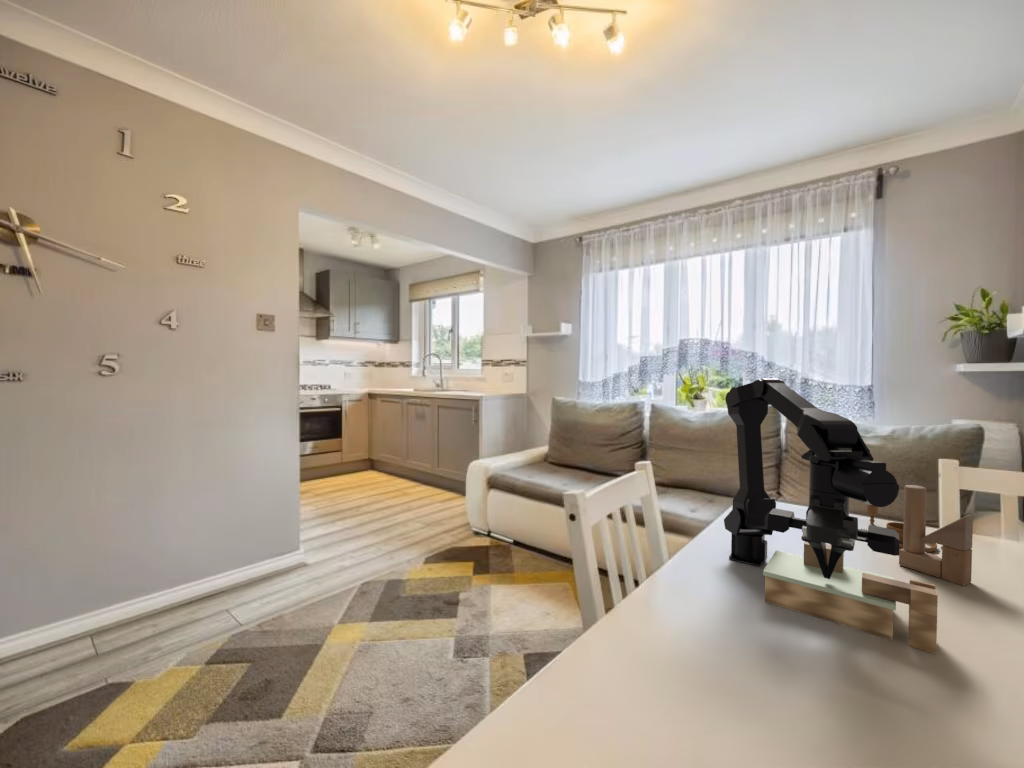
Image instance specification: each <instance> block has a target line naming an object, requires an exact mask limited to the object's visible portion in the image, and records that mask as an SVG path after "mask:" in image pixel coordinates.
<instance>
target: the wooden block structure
mask: <svg viewBox="0 0 1024 768" xmlns="http://www.w3.org/2000/svg"><path fill="white" fill-rule="evenodd" d="M927 491H928V490H927V488H926V487H925V486H921V485H916V484H905V485H904V494H903V495H904V497H903V523H904V530H903V549H899V556H898V565H899V566H901V567H905V568H907V569H911V570H914V571H917V572H920V573H923V574H926V575H930V576H933V577H935V578H938V579H941V580H944V581H946V582H950V583H952V584H956V585H961V586H966V585H968V584H971V583H972V571H973V569H972V568H973V567H972V566H973V565H972V564H973V561H972V560H973V549H972V548H973V533H974V532H973V531H974V529H973V528H974V514H971V513H970V514H968V515H965V516H963V517H960V518H959V519H956V520H955V521H952V522H950V523H949V524H947V525H945V526H941V528H938V529H937V530H935V531H933V532H931V533H928V534H926V528H927ZM925 541H929V542H933V543H936V544H937V545H941V546H942V549H941V557H940V556H938V555H937V554H933V553H931V552H929V553H926V552H925V548H926V544H925Z"/></svg>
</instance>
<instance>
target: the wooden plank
mask: <svg viewBox="0 0 1024 768" xmlns="http://www.w3.org/2000/svg"><path fill="white" fill-rule="evenodd" d="M911 588H914V589H918V590H922V591H926V592H931V593H935V594H937V589H936V588H935V589H931V588H927V587H922V586H918V585H914V584H910V582H909V583H908V582H905V581H900V580H896V579H895V580H892V579H888V578H884V577H879V576H875V575H871V574H867V573H862V593H866V594H870V595H873V596H877V597H881V598H885V599H889V600H893V601H896V603H897V602H898V603H901V604H905V605H908V606H909V605H910V599H911ZM937 595H938V594H937Z"/></svg>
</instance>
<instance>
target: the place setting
mask: <svg viewBox="0 0 1024 768" xmlns="http://www.w3.org/2000/svg"><path fill="white" fill-rule="evenodd" d="M866 512H867V514H868V515H869V516H870V519H869V525H872V526H875V521H876V520H875V517H876V516H877V515H878V514H879V507H876V506H873V505H870V504H866ZM885 528H889V529H894V530H895V531H896V532H897V533H898V534H899V550H900V549H903V530H904V522H898V521H897V522H895V521H892V522H891V521H890V522H887V523H886V527H885ZM860 530H866V531H868V528H863V527H862V528H860ZM926 545H927V546H929V547H925V552H929V553H933V551H934V552H935V551H936V550H937V549H938V544H937V543H933V542H929V541H925V546H926ZM942 546H943V545H941V546H940V549H941V550H942Z"/></svg>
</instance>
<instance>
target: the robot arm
mask: <svg viewBox="0 0 1024 768" xmlns="http://www.w3.org/2000/svg"><path fill="white" fill-rule="evenodd" d="M725 404H726V408H727V414H728V416H729V417H730V419H731V420H732V421H733V423H734V424H735V427H736V440H737V441H736V443H737V459H738V461H737V462H738V477H739V478H738V479H739V489H737V492H736V494H735V495H734V497H733V499H732V507H731V508H732V509H731V510H730V512H729V513H728V514H727V515H726V516H725V518H724V519H723V523H724V524H723V525H724V528H725V530H726V531H728V532H729V533H731V539H730V540H731V544H730V545H731V546H730V547H731V549H730V550H731V552H730V555H728V558H729V559H730V560H732V561H736V562H737V561H738V562H741V563H745V564H749V565H753V566H755V567H761V566H762V565H763V563H765V562H766V561H767V559H768V541H767V540H766V539H765V538H766V536H773V532H778V533H782V534H783V533H786V532H788V531H789V530H790V528H793V529H798V530H801V533H802V535H801V541H803V542H804V543H805V542H808V543H809V544H810V546H811V547H812V548H813V550H814V552H815V554H816V557H817V559H818V562H819V565H820V568H821V570H822V573H823V576H824V578H827V579H830V577H831V575H832V573H833V570H834V568H835V566H836V564H837V561H838V560H839V558H840V557H841V555H842V554H843V553H845V552H847V551H849V552H853V551H854V549H855V545H856V543H855V542H856V541H858V542H864V543H867V547H869V549H870V550H872V552H874V553H875V552H876V553H880V554H885V555H890V556H895V557H896V556H898V557H899V550H900V549H899V534H898V533H897V532H896V531H895V530H894V529H889V528H886V527H884V526H883V527H881V526H877V525H870V524H868V526H867V527H868V528H867V531H866V529H865V530H864V529H862V530H861V528H860V529H859V517H855V516H851V515H850V499H853V500H856V501H858V502H861V503H865V504H866V505H873V506H876V507H878V508H884V507H888V506H890V505H891V504H893V503H894V502H895V501H896V499H897V497H898V494H899V492H900V485H899V484H898V481H897V479H896V477H895V476H894V474H893V473H891V472H890V471H888V470H887V463H886V462H884V461H880V460H879V461H877V460H875V461H874V457H873V455H872V454H871V450H870V448H869V447H868V446H867V445H866V443H865V441H864V439H863V437H862V435H861V434H860V432H859V430H858V427H857V425H856V423H855V422H854V421H852V420H851V419H849V418H847V417H844V416H841V415H839V414H837V413H833V412H831V411H827V410H826V411H825V410H822V409H820V408H818V407H817V406H815V405H814V404H812V403H811V402H810V401H809V400H807V399H806V398H805V397H803V396H802V395H800V394H799V393H798V392H796V391H795V390H793V389H792V388H790V386H787V385H786V383H785V381H784V380H783V379H780V378H763V377H762V378H759V379H756V380H754V381H752V382H749V383H746V384H742V385H739V386H734V387H731V388H730V389H729V391H728V392H727V393H726V395H725ZM769 406H771V407H773V408H774V409H775V410H776V411H777V412H778V413H780V415H781V414H782V416H784V417H785V418H786V419H787V420H789V421H790V422H791V423H792V424H793V425H794V426H795V427H796V434H797V436H798V438H799V439H800V440H801V441H802V443H803V444H804V445H805V446H806V447H807V448H808V451H806V452H805V453H803V454H801V459H802V460H805V461H809V476H808V477H809V478H808V479H809V481H808V482H809V483H808V484H809V485H808V486H809V487H808V507H807V509H806V512H805V519H804V518H799V517H795V512H794V511H792V510H791V511H790V510H786V509H780V508H777V502H776V500H775V498H771V497H770V496H769V494H768V493H767V491H766V490H765V476H764V475H765V474H764V460H763V459H764V458H763V442H762V424H763V422H764V421H765V419H766V417H767V416H768V413H769ZM826 544H828V545H831V552H830V557H829V562H828V564H827V554H826Z"/></svg>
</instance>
